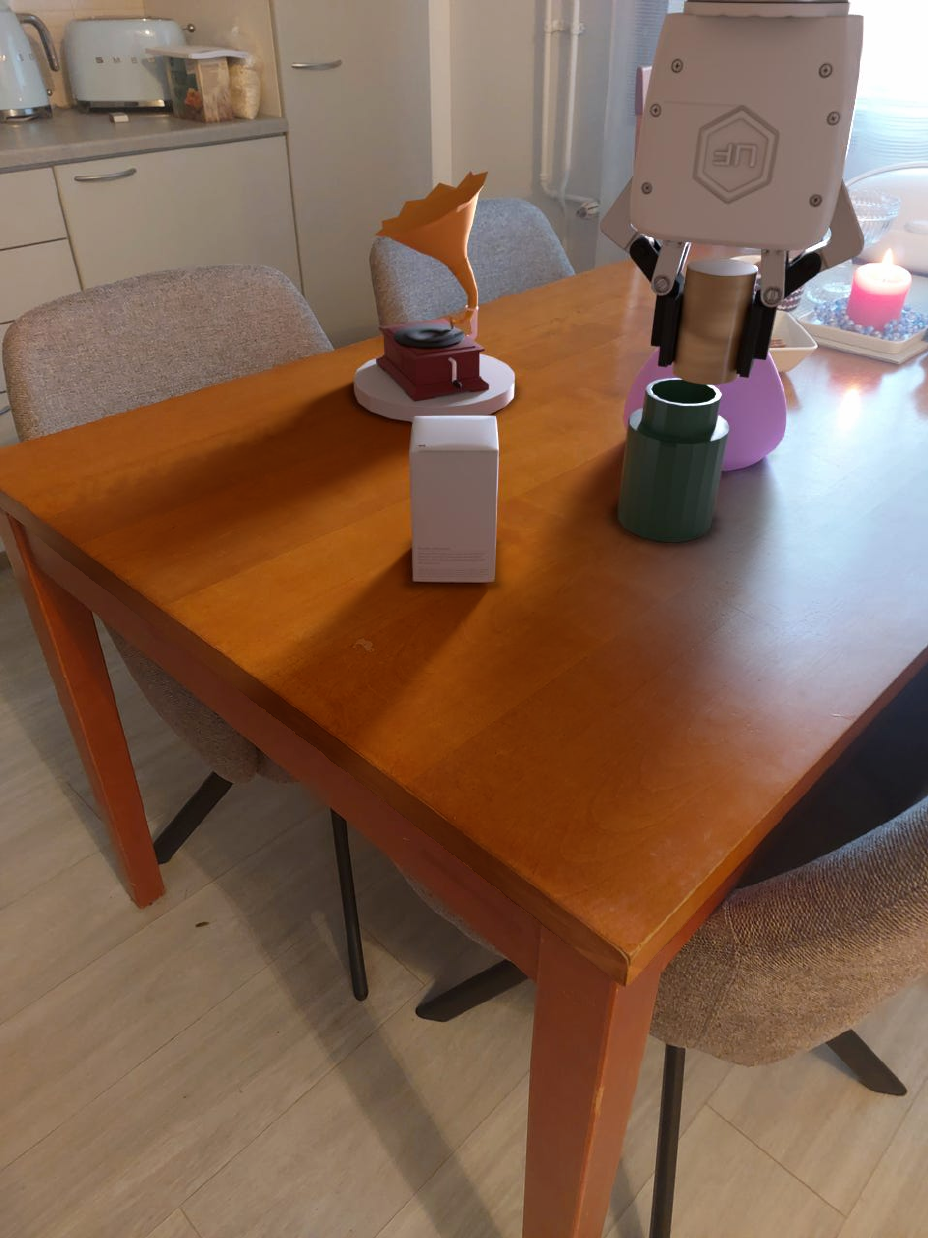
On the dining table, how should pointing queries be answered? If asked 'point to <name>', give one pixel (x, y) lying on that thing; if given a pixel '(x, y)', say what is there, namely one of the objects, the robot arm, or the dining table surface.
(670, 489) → the green bottle
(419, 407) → the gramophone
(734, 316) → the stopper
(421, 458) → the white packaging box
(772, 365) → the teapot
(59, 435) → the dining table surface
